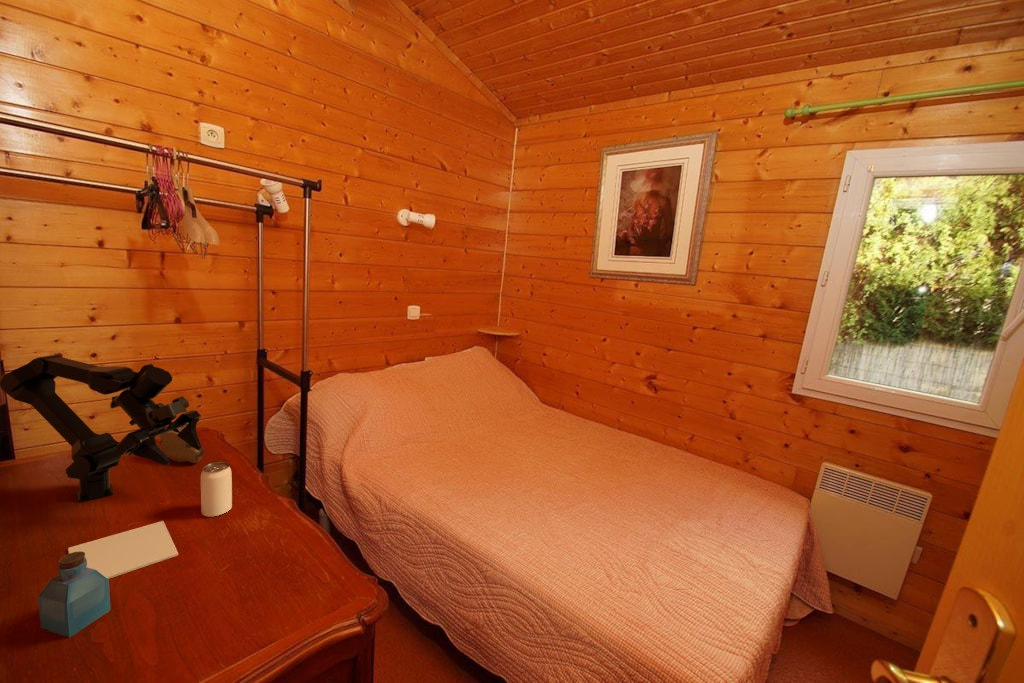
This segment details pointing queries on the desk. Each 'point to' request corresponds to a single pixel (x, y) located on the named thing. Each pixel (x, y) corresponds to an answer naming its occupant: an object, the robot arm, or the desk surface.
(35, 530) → the desk surface
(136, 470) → the desk surface
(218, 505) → the can
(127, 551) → the beige mat
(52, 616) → the perfume bottle
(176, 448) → the wooden carving
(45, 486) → the desk surface
